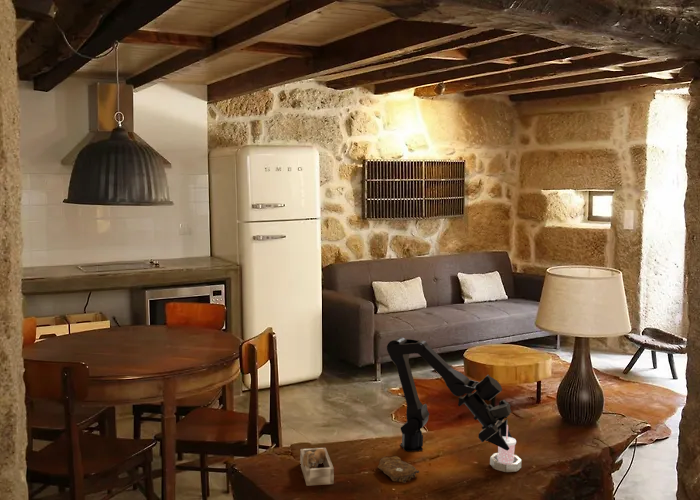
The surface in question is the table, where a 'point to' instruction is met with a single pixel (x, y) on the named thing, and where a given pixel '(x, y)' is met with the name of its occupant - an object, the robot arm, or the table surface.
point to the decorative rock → (397, 469)
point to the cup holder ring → (505, 464)
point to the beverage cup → (503, 454)
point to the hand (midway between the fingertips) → (510, 446)
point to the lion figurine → (313, 458)
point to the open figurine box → (317, 470)
